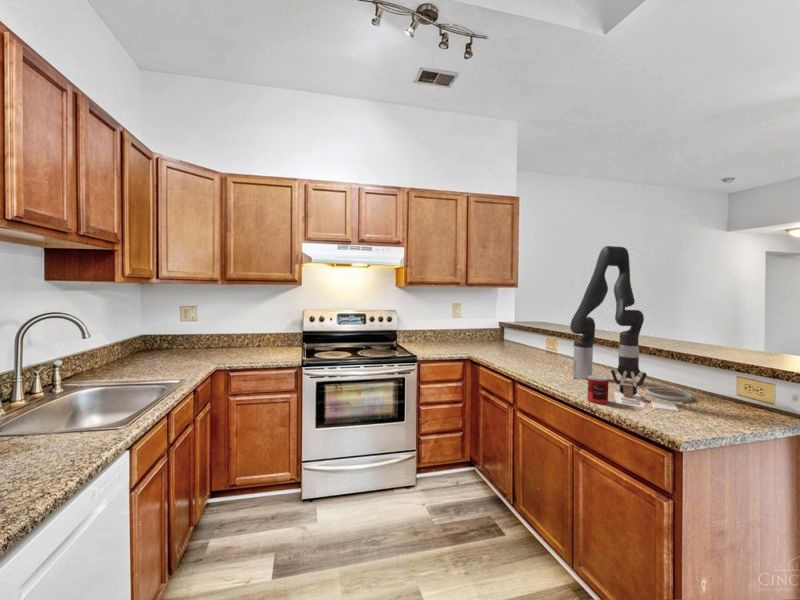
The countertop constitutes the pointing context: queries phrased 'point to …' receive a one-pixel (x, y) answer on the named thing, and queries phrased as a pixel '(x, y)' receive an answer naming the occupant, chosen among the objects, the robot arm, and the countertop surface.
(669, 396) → the frying pan
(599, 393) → the canned food
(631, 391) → the tan long bar
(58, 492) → the countertop surface
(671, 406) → the tile
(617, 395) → the mat
